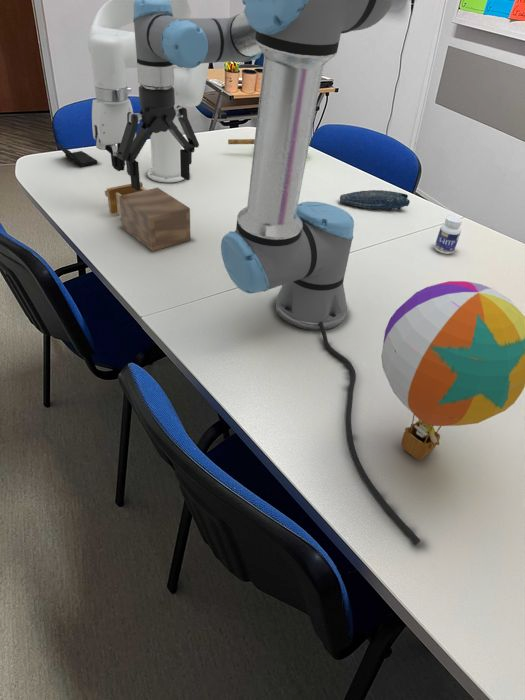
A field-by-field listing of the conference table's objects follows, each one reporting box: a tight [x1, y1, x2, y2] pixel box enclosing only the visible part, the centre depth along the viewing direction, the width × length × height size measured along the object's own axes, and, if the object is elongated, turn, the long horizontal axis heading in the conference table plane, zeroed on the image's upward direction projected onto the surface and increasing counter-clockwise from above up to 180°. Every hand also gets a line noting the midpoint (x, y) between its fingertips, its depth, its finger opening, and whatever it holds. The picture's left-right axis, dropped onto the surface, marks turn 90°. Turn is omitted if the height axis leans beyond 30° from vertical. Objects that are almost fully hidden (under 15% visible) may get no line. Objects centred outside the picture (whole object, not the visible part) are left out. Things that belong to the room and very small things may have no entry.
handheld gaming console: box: [53, 140, 98, 167], centre depth 169 cm, size 12×7×10 cm
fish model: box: [339, 189, 411, 211], centre depth 158 cm, size 7×21×5 cm, turn 84°
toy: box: [380, 280, 525, 461], centre depth 74 cm, size 20×20×30 cm
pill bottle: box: [434, 215, 463, 255], centre depth 137 cm, size 5×5×9 cm
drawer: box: [104, 181, 147, 217], centre depth 139 cm, size 19×10×7 cm, turn 40°
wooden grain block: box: [119, 187, 191, 252], centre depth 132 cm, size 15×11×9 cm
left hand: (118, 169), depth 137 cm, fingers closed
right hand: (161, 183), depth 124 cm, fingers open, 13 cm apart
